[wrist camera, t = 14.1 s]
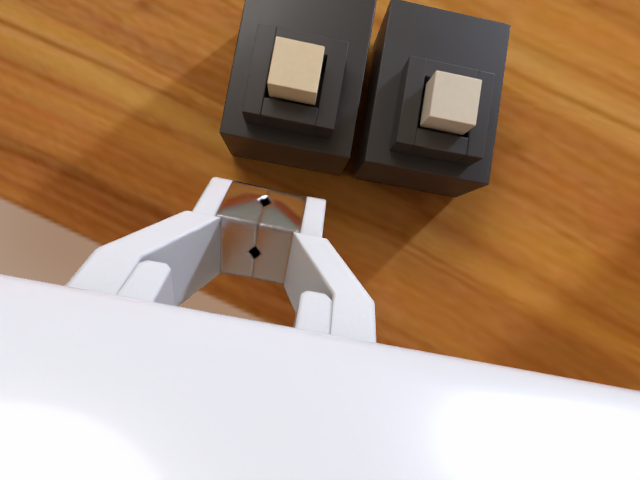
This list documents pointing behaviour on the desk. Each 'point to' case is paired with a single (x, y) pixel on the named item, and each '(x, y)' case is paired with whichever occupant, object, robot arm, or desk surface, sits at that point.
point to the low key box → (408, 95)
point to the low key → (450, 103)
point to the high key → (295, 70)
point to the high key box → (288, 116)
